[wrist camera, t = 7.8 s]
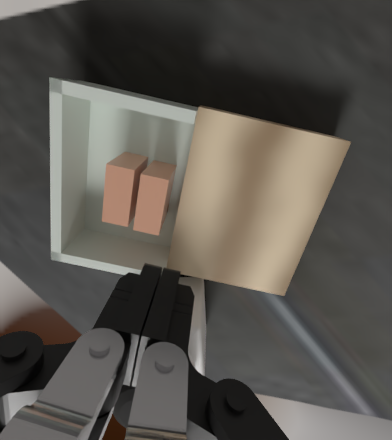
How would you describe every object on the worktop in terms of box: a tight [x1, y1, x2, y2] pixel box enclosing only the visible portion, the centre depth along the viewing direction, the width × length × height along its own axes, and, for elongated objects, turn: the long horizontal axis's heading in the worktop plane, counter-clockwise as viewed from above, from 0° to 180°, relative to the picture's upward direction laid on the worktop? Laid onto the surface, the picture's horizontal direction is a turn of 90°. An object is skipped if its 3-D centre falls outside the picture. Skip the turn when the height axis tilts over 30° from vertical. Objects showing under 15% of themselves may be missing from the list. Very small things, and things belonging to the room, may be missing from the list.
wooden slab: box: [166, 105, 351, 296], centre depth 24 cm, size 11×14×3 cm
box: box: [49, 77, 198, 275], centre depth 22 cm, size 9×14×5 cm
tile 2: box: [102, 152, 148, 227], centre depth 22 cm, size 4×4×2 cm
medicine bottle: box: [113, 277, 206, 428], centre depth 25 cm, size 7×7×12 cm
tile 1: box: [133, 160, 177, 236], centre depth 22 cm, size 4×4×2 cm
